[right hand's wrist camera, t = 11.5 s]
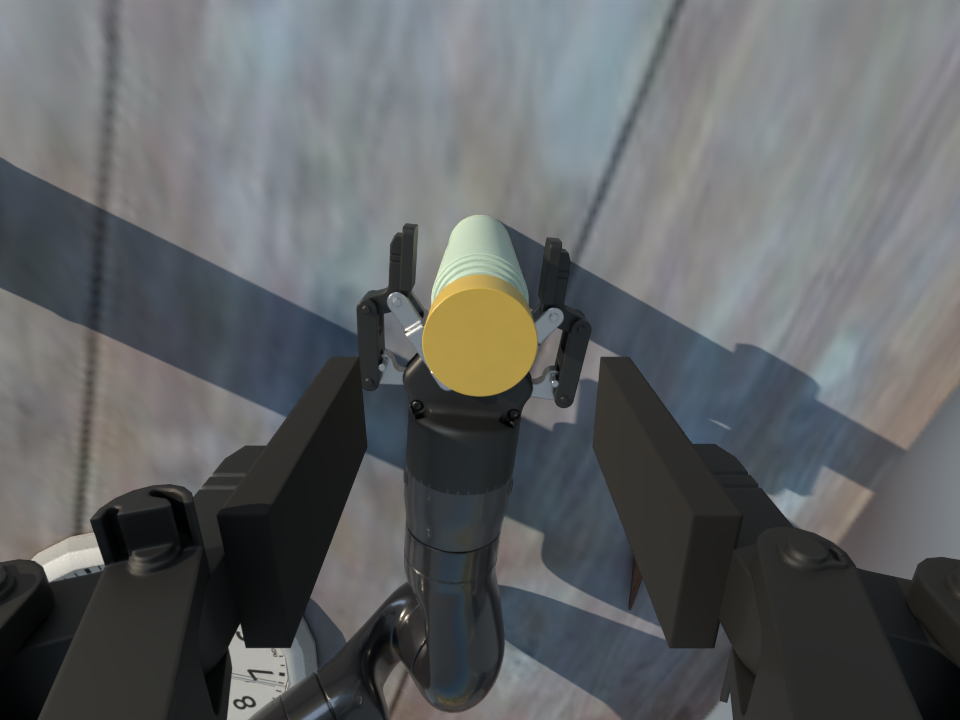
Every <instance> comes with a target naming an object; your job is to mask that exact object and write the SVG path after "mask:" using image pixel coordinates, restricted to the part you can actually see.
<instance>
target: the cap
mask: <svg viewBox="0 0 960 720" xmlns="http://www.w3.org/2000/svg"><path fill="white" fill-rule="evenodd" d="M422 348H423V353H424V357H425V360H426V363H427V365H428V367H429V369H430V370H431V372H432V373H433V374H434V376H435V377H436V378H437V379H438V380H439V381H440V382H441V383H443V384H444V385H445V386H447V387H448V388H450V389H452V390H454V391H456V392H458V393H461V394H465V395H469V396H491V395H495V394H499V393H502V392H504V391H506V390H508V389H510V388H512V387H513V386H515V385H516V384H517V383H519V382H520V381H521V380H522V379H523V378H524V377H525V376H526V374H527V373H528V372H529V370H530V368H531V367H532V365H533V363H534V360H535V357H536V354H537V348H538V337H537V330H536V327H535V323H534V320H533V317H532V314H531V311H530V308H529V305H528V303H527V301H526V300H525V298H524V296H523V295H522V294H521V293H520V291H519V290H517V289H516V288H515V287H514V286H513V285H512V284H510V283H509V282H507V281H505V280H503V279H501V278H498V277H495V276H491V275H483V274H478V275H469V276H465V277H462V278H459V279H457V280H455V281H453V282H451V283H450V284H448V285H447V286H446V287H445V288H443V289H442V291H441V292H440V293H439V294H438V295H437V297H436V298H435V299H434V301H433V303H432V305H431V308H430V311H429V314H428V317H427V320H426V323H425V326H424V331H423V336H422Z"/></svg>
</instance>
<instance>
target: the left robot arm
mask: <svg viewBox="0 0 960 720" xmlns="http://www.w3.org/2000/svg"><path fill="white" fill-rule="evenodd" d="M417 241H418V225H417V224H407V223H406V224H405V225H404V226H403V230H402V233H397V234H396V235H395V236H394V238H393V240H392V242H391V244H390V267H389V286H388V287H387V288H385V289H382V290H378V291H375V290H372V291H369V292H367V293H366V295H365V296H364V297H363V299H362V300H361V301H360V302H359V304H358V305H357V328H358V349H359V359H360V371H361V382H362V388H364V389H365V390H367V391H373V390H375V389H377V387H378V386H379V384H388V385H404V387H405V388H406V390H407V392H408V395H409V417H408V434H407V451H406V468H405V470H404V483H405V487H404V497H405V507H406V530H405V546H404V568H405V574H406V577H407V580H408V582H406V583H404V584H403V585H402V586H400V587H399V588H398V589H397V590H395V591H394V592H393V593H392V594H391V595H390V596H389V597H388V599H387V600H386V601H385V602H384V603H383V604H382V605H381V606H380V607H379V609H378V610H377V611H376V612H375V613H374V614H373V615H372V616H371V617H370V619H369V620H368V621H367V622H366V623H365V624H364V625H363V626H362V627H361V628H360V629H359V630H358V631H357V632H356V633H355V635H354V636H353V637H352V638H351V639H350V640H349V641H348V642H347V643H346V644H345V645H344V647H343V648H342V649H341V650H340V651H339V652H338V653H337V654H336V655H335V656H334V657H333V658H332V659H331V660H330V661H329V662H327V663H326V664H324V665H323V666H321V667H320V668H319V669H317V670H316V673H315V672H312V673H311V674H309V675H308V676H307V677H305V678H304V679H302V680H301V681H299V682H298V683H296V684H295V685H293V686H292V687H291V688H289V689H288V690H286V691H285V692H283V693H282V694H281V695H279V696H278V697H276V698H275V699H273V700H272V701H270V702H269V703H267V704H266V705H265V706H264V707H262V708H261V709H260V710H258V711H257V712H256V713H255V714H253V715H252V716H251V717H250V718H249V719H248V720H390V716H389V711H388V707H387V704H386V701H385V697H384V693H383V686H384V683H385V682H386V680H387V678H388V676H389V675H390V673H391V672H392V670H393V669H394V668H395V666H396V665H397V664H398V663H399V662H400V661H402V663H403V665H404V666H405V668H406V669H407V671H408V673H409V674H410V676H411V677H412V679H413V681H414V683H415V684H416V686H417V688H418V689H419V691H420V693H421V694H422V696H423V697H424V698H425V699H426V700H427V702H428V703H429V704H430V705H432V706H433V707H434V708H436V709H438V710H440V711H443V712H446V713H460V712H464V711H467V710H469V709H471V708H473V707H474V706H476V705H477V704H479V703H480V702H481V701H482V700H483V699H484V698H485V697H486V696H487V694H488V693H489V692H490V690H491V689H492V687H493V685H494V684H495V682H496V680H497V678H498V675H499V673H500V669H501V666H502V662H503V657H504V646H505V639H504V624H503V616H502V608H501V601H500V593H499V587H498V582H497V578H496V572H495V566H496V560H497V554H498V547H499V540H500V533H501V527H502V522H503V519H504V516H505V512H506V509H507V505H508V501H509V496H510V493H511V490H512V486H513V477H512V475H513V468H514V461H515V454H516V447H517V440H518V434H519V427H520V420H521V413H522V409H523V407H524V405H525V403H526V402H527V400H528V399H529V398H530V397H536V398H543V399H549V400H555V403H556V405H557V406H559V407H561V408H567V407H569V406H571V405H572V403H573V401H574V397H575V393H576V389H577V385H578V381H579V377H580V373H581V369H582V365H583V361H584V357H585V353H586V349H587V345H588V342H589V338H590V334H591V326H590V324H589V323H588V321H587V320H586V319H585V316H584V315H583V313H582V312H581V311H579V310H574V309H572V308H569V307H567V306H566V305H564V299H565V293H566V287H567V280H568V274H569V268H570V257H569V253H568V252H567V251H566V250H565V249H562V242H561V241H560V240H559V239H558V238H549V237H547V239H546V243H545V250H544V257H543V264H542V271H541V278H540V285H539V292H538V296H539V298H540V301H541V303H540V304H538V305H537V306H536V307H535V308H534V309H533V310H532V311H531V314H532V317H533V320H534V323H535V327H536V330H537V337H538V348H539V347H540V345H541V343H542V342H543V341H544V340H545V339H546V338H547V337H548V336H549V335H550V334H551V333H552V332H553V331H554V330H555V329H556V328H559V329H561V330H563V332H562V336H561V340H560V344H559V349H558V353H557V357H556V362H555V366H549V367H547V368H546V369H545V370H544V372H543V374H542V375H541V376H540V377H539V378H537V379H532V378H531V375H530V373H529V372H528V373H527V374H526V376H525V377H524V378H523V379H522V380H521V381H520V382H519V383H517V384H516V385H515V386H513V387H512V388H510V389H508V390H506V391H504V392H502V393H499V394H495V395H491V396H469V395H465V394H461V393H458V392H456V391H454V390H452V389H450V388H448V387H447V386H445V385H444V384H443V383H441V382H440V381H439V380H438V379H437V378H436V377H435V376H434V374H433V373H432V372H431V370H430V369H429V367H428V365H427V363H426V360H425V357H424V353H423V348H422V336H423V331H424V326H425V323H426V320H427V317H428V314H429V312H428V311H427V310H426V309H425V308H424V307H423V306H422V304H421V303H420V301H419V300H418V298H417V297H416V295H415V294H414V292H413V291H412V288H413V286H414V284H415V276H416V258H417ZM389 312H392V313H393V314H394V316H395V317H396V318H397V320H398V321H399V323H400V324H401V326H402V327H403V329H404V331H405V334H406V336H407V338H408V340H409V341H410V343H411V344H412V346H413V347H414V348H415V350H416V351H417V353H416V354H415V356H414V357H413V358H412V359H411V360H410V361H409V362H408V364H407V365H406V367H402V366H400V365H399V364H398V363H397V362H396V360H395V356H394V354H393V353H392V352H391V351H389V350H385V339H384V313H389ZM538 348H537V350H538Z"/></svg>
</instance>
